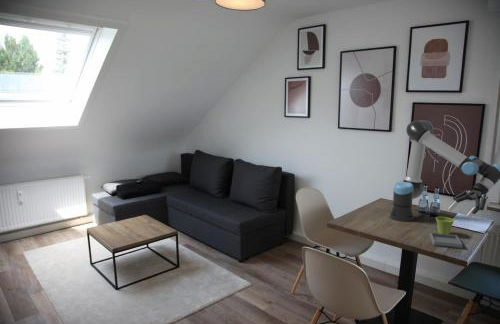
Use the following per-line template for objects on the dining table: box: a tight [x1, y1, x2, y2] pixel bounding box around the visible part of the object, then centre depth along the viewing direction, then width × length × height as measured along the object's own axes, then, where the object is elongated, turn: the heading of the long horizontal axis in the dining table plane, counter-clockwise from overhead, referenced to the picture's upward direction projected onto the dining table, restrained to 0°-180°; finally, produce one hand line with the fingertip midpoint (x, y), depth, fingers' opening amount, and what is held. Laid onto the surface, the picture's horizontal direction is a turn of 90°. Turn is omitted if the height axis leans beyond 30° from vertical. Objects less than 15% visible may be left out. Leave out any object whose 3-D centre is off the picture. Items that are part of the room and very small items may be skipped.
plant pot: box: [435, 216, 455, 235], centre depth 201 cm, size 9×9×9 cm
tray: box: [429, 232, 463, 250], centre depth 188 cm, size 13×13×3 cm
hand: (458, 213), depth 200 cm, fingers open, 13 cm apart
